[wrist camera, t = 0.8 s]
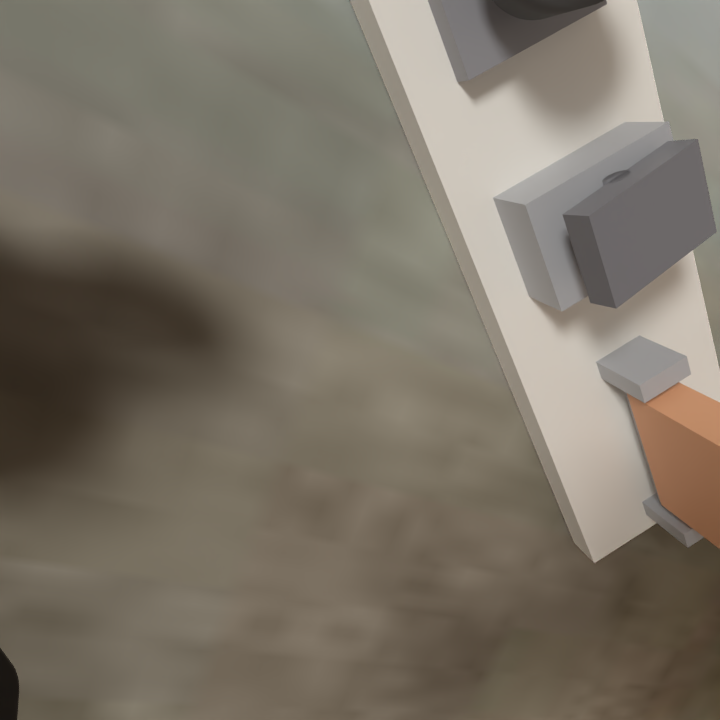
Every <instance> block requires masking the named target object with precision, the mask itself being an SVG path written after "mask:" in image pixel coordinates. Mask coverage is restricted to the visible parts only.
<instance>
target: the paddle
mask: <svg viewBox="0 0 720 720" xmlns="http://www.w3.org/2000/svg"><path fill="white" fill-rule="evenodd" d="M625 394H626V397H627V400H628V403H629V406H630V410H631V413H632V416H633V419H634V422H635V426H636V429H637V432H638V435H639V438H640V442H641V445H642V448H643V451H644V454H645V458H646V461H647V464H648V467H649V470H650V474H651V477H652V480H653V483H654V486H655V490H656V493H657V496H658V499H659V501H660V502H661V505H662V506H663V507H665V508H666V509H667V510H669V511H670V512H671V513H673V514H674V515H675V516H677V517H678V518H679V519H681V520H682V521H683V522H685V523H686V524H687V525H689V526H690V527H691V528H693V529H694V530H695V531H697V532H698V533H699V534H701V535H702V536H703V537H705V538H706V539H707V540H708V541H710V542H711V543H712V544H714V545H715V546H716V547H718V548H719V549H720V402H718V401H716V400H714V399H712V398H710V397H708V396H706V395H704V394H702V393H700V392H698V391H695V390H693V389H691V388H689V387H687V386H685V385H683V384H681V383H679V382H678V383H676V384H675V385H673V386H672V387H670V388H668V389H667V390H665V391H664V392H662V393H660V394H659V395H657V396H656V397H654V398H652V399H651V400H649V401H648V402H646V403H644V402H642V401H640V400H638V399H637V398H635V397H633V396H631V395H630V394H628V393H626V392H625Z"/></svg>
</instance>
